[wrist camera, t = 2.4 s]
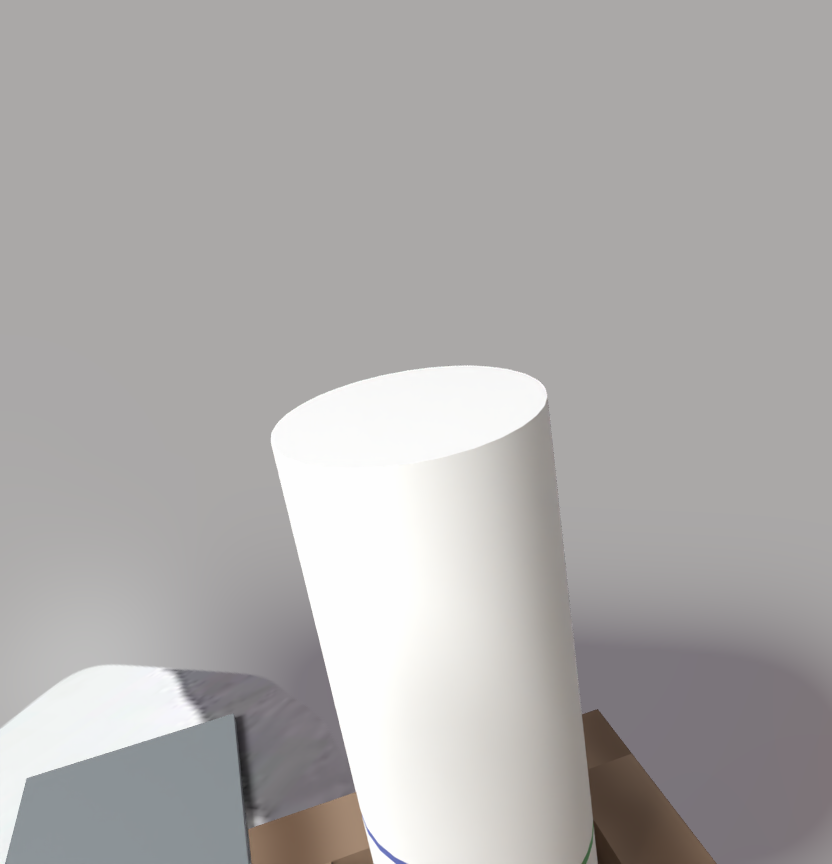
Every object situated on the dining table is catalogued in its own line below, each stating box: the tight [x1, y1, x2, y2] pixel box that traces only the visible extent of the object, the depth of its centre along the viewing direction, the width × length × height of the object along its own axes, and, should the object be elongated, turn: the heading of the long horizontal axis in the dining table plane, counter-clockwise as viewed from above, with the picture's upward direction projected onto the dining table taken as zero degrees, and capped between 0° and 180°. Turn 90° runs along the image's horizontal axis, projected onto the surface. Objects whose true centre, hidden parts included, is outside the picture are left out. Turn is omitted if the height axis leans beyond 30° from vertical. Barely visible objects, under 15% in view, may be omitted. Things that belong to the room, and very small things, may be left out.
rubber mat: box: [5, 714, 250, 864], centre depth 42 cm, size 12×12×1 cm
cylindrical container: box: [271, 366, 598, 864], centre depth 25 cm, size 7×7×25 cm
